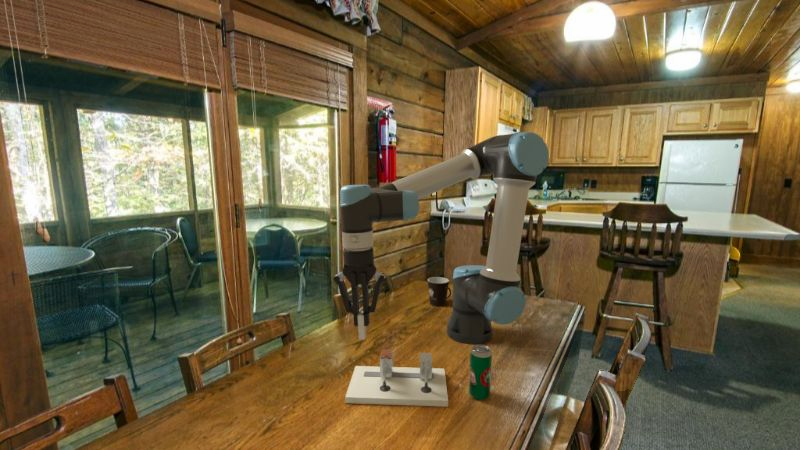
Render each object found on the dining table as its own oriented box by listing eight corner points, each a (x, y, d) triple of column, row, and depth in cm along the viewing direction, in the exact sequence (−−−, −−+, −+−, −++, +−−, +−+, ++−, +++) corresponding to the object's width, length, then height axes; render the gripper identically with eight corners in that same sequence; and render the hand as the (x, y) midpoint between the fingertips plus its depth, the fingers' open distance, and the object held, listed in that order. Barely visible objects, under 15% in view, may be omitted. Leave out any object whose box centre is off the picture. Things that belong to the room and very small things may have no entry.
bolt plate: (444, 373, 100) (444, 367, 99) (448, 406, 86) (448, 399, 85) (355, 371, 101) (355, 365, 101) (345, 403, 87) (345, 396, 87)
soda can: (467, 388, 93) (468, 343, 91) (487, 389, 93) (489, 343, 91) (470, 401, 88) (472, 353, 86) (492, 401, 88) (494, 354, 86)
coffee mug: (425, 300, 155) (425, 277, 154) (445, 299, 156) (446, 276, 155) (430, 310, 144) (431, 286, 142) (452, 310, 145) (453, 285, 143)
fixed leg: (431, 371, 97) (431, 351, 97) (432, 390, 89) (432, 368, 88) (420, 370, 98) (420, 350, 97) (419, 389, 89) (420, 368, 88)
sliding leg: (392, 369, 98) (392, 348, 97) (390, 387, 90) (390, 365, 89) (381, 368, 98) (381, 348, 97) (378, 387, 90) (377, 365, 89)
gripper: (328, 251, 88) (334, 344, 92) (382, 250, 87) (386, 344, 91) (335, 244, 96) (340, 330, 99) (385, 244, 95) (388, 330, 99)
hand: (362, 337), depth 95 cm, fingers closed
